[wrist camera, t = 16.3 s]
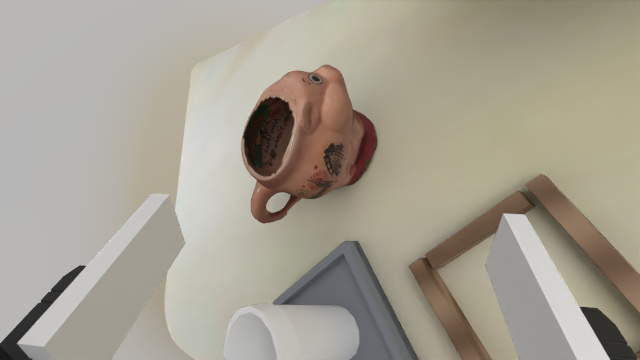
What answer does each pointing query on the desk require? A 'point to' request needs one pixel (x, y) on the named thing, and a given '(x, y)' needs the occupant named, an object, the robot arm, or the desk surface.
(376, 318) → the charcoal tray
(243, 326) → the foam cup
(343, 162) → the sculpted ceramic mug
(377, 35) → the desk surface
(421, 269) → the walnut collar
